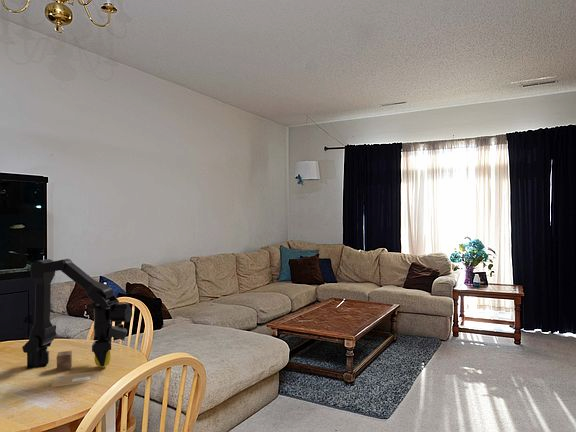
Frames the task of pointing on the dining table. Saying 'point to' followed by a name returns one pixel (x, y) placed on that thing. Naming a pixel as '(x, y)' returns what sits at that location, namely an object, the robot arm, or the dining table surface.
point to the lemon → (107, 360)
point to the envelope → (76, 378)
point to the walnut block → (64, 361)
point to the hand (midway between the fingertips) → (102, 363)
